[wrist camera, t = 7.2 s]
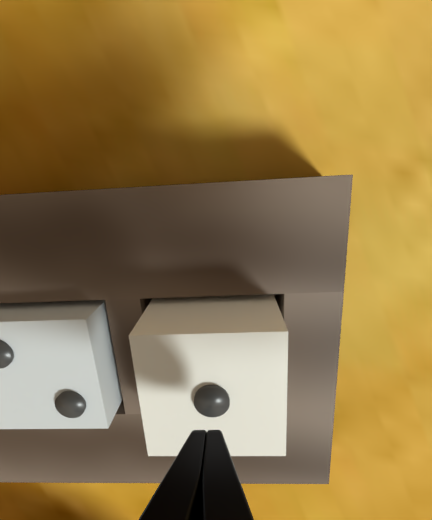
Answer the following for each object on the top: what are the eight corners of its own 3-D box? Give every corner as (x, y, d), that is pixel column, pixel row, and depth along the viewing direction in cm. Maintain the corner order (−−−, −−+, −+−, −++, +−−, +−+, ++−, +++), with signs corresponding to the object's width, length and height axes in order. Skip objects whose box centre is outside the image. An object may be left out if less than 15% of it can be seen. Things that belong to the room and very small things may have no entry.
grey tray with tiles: (310, 428, 16) (328, 484, 13) (-79, 431, 17) (-140, 481, 14) (322, 176, 12) (352, 174, 9) (-179, 205, 13) (-290, 211, 11)
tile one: (272, 393, 13) (286, 460, 10) (166, 394, 13) (146, 460, 10) (273, 293, 11) (289, 333, 8) (153, 296, 12) (127, 338, 9)
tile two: (132, 378, 14) (106, 431, 11) (39, 379, 14) (-10, 432, 11) (117, 288, 13) (83, 321, 10) (15, 292, 13) (-49, 325, 10)
